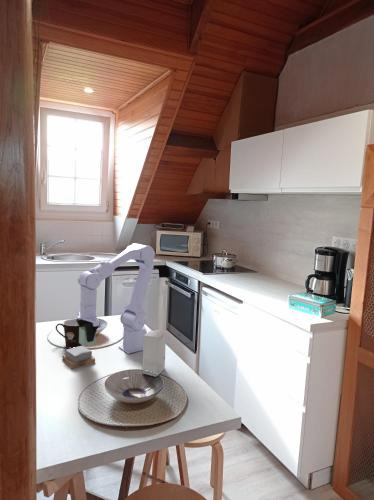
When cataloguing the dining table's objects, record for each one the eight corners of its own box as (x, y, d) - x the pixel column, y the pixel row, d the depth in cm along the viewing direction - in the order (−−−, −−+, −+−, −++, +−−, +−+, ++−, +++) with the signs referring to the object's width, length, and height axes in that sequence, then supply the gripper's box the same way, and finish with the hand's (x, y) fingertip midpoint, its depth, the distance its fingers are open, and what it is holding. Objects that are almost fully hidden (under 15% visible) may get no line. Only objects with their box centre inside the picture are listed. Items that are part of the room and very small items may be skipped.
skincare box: (156, 378, 129) (158, 338, 127) (140, 375, 131) (142, 335, 129) (165, 368, 137) (167, 330, 135) (150, 365, 139) (152, 327, 137)
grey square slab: (82, 351, 143) (82, 345, 143) (91, 357, 139) (91, 351, 138) (65, 356, 138) (65, 349, 138) (74, 362, 134) (74, 356, 133)
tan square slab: (84, 356, 145) (85, 350, 145) (95, 364, 138) (95, 358, 138) (62, 361, 140) (62, 355, 139) (71, 370, 133) (72, 364, 132)
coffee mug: (88, 344, 155) (89, 322, 154) (72, 351, 148) (73, 327, 146) (70, 338, 161) (70, 316, 160) (53, 343, 154) (54, 320, 152)
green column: (90, 340, 141) (90, 325, 140) (95, 344, 138) (95, 328, 137) (78, 342, 138) (79, 327, 137) (84, 346, 135) (84, 330, 134)
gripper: (70, 300, 139) (69, 335, 140) (86, 310, 128) (85, 347, 130) (87, 298, 143) (86, 331, 145) (105, 307, 132) (103, 343, 134)
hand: (87, 339), depth 138 cm, fingers closed on green column, 4 cm apart
